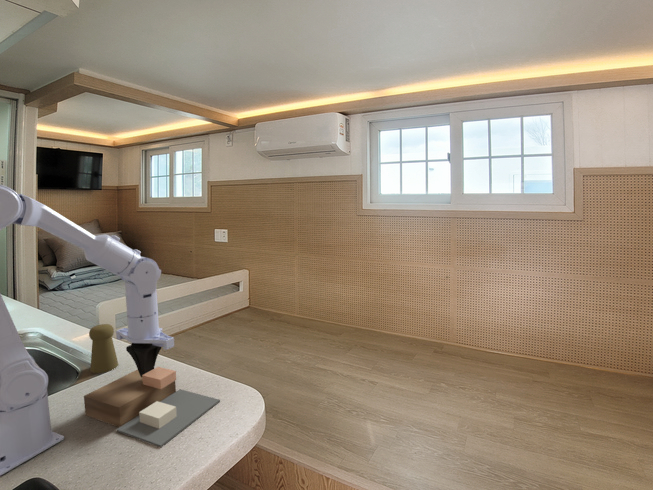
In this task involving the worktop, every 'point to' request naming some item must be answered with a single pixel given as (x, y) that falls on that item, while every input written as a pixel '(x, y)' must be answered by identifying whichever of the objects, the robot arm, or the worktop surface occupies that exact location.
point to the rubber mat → (187, 413)
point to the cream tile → (157, 414)
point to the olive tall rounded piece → (102, 349)
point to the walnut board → (124, 399)
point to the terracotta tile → (159, 377)
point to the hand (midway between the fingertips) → (147, 375)
